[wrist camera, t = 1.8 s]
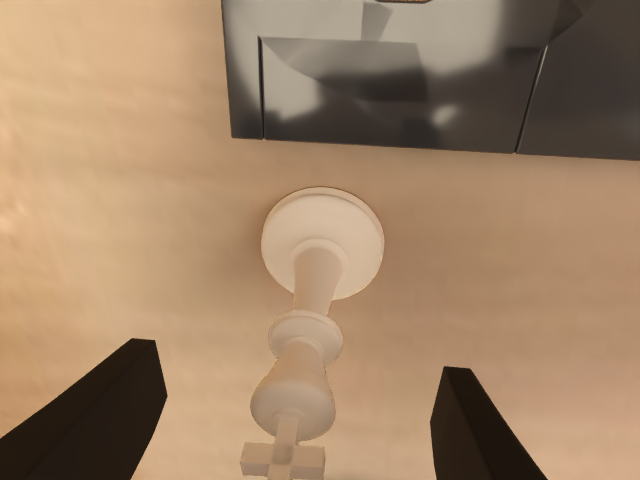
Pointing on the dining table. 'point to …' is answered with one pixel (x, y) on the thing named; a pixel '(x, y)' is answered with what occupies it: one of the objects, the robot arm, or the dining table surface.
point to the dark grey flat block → (438, 74)
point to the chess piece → (308, 322)
